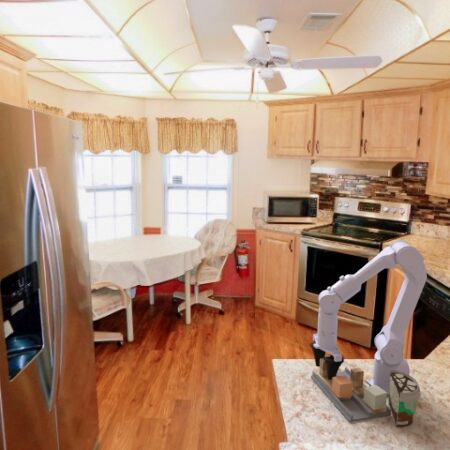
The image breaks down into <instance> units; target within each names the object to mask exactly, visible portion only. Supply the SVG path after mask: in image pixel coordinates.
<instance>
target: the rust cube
mask: <svg viewBox="0 0 450 450" xmlns="http://www.w3.org/2000/svg"><path fill="white" fill-rule="evenodd" d="M352 390H353V383H352V382H351V381H350V380H349V379H348V378H347V377H346V376H337V377H333V379H332V391H333V392H334V393H335V394H336V395H337V396H338V397H339V398H344V397H351V396H352Z"/></svg>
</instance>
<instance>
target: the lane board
mask: <svg viewBox="0 0 450 450" xmlns="http://www.w3.org/2000/svg"><path fill="white" fill-rule="evenodd" d="M311 372H312V373H311V374H312V375H310V379H312V380H313V382H314V383H315V384H316V385H317V387H318V388H319V389H320V390H321V391H322V392H323V394H324V395H325V396H326V398H327V399H328V400H329V401H330V402H331V403H332V404H333V406H335V408H336V409H337V411H338V412H339V413H340V414H341V415H342V416H343V417H344V419H345V420H346V421H347V422H348V423H355V422H360V421H367V420H373V419H380V418H387V417H390V416H392V414H391V409H390V408H389V405H388V404H386V408H387V412H385V413H378V414H373V411H372V410H371V409H370V408H369V407H368V406H367V405H366V404H365V403H364V402H363V401H362V399H364V397H361V398H359V397H358V396H357V395H356V394H355V393H354V392H353V391H352V396H351V399H346V400H339V399H338V398H337V397H336V396H335V395H334V393H333V392H332V391H331V390H330V389H329V388H328V387H327V385H326V384H325V383H324V382H323V381H322V380H321V379H320V378H319V376H318V375H317V374H318V373H316V372H315V371H311ZM350 374H351V369H349V368H348V367H346V366H345V368H344V371H338V372H337V375H336V377H337V376H346V377H347V378H348V379H349V380H350ZM363 386H364V387H365V388H366V387H368V386H367V385H366V384H365V383H364V382H363Z"/></svg>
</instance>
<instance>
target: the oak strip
mask: <svg viewBox="0 0 450 450" xmlns="http://www.w3.org/2000/svg"><path fill="white" fill-rule="evenodd" d="M318 371H319V373H316V374H317V375H318V376H319V378H320V379H321V380H322V381H323V382H324V383H325V384H326V385H327V387H328V388H329V389H330V390H331V391H332V380H329V379H328V377H327V367H326V363H325V360H324V358H321V359H320V367H319V369H318ZM332 392H333V391H332ZM333 393H334V392H333ZM334 395H335V396H336V397H337V398H338V399H339V400H346V399H351V397H344V398H339V397H338V396H337V395H336V394H335V393H334Z"/></svg>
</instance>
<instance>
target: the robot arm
mask: <svg viewBox="0 0 450 450" xmlns="http://www.w3.org/2000/svg"><path fill="white" fill-rule="evenodd" d="M424 261H425V258H424V257H423V255H422V254H421V252H420V251H419V249H417V248H416V247H414V246H412V245H411V244H410V243H409V242H408V241H406V240H402V239H401V240H400V239H398V240H395V241H393V242H392V243H391V244H390V245H389V246H386V247H384V249H383V250H381V251H380V252H378V254H377V255H376V256H375V257H373V258H372V259H371V260H370V261H369V262H367V263H366V264H365V265H364V266H363V267H362V268H360V269H359V270H357V272H355V273H354V274H346V275H345V276H344V275H341V276H340V277H339V280H338V281H336V283H334V284H333V285H331V286H327V288H326V289H325V290H322V291H321V292H320V293H319V295H318V296H317V300H318V301H317V302H318V304H319V307H318V315H317V332H316V333H314V334H312V341H313V342H311V343H309V346H310V348H311V350H312V354H313V357H314V358H313V359H314V363H315V366H316V367H317V368H318V367H319V368H320V359H321V358H324V360H325V363H326V367H327V377H328V379H329V380H332V379H333V377H336V375H337V372H339V369H340V367H341V366H342V365H343V363H345V359H344V357H343V354H342V353H341V351H340V349H339V346H338V343H337V340H338V322H339V319H338V318H339V317H338V312H339V310H340V309H341V304H344V303H345V302H347V301H348V300H350V299H351V298H352V297H353V296H355V295H356V294H357V293H359V292H361V289H362V284H364V283H365V282H367V281H368V280H369V279H371V278H373V277H374V276H375V275H377V274H379V273H380V272H381V271H383V270H384V269H393V270H394V269H398V266H399V267H400V269H401V270H402V273H403V275H405V276H404V280H403V282H402V285H401V287H400V290H399V292H398V294H397V297H396V299H395V303H394V305H393V307H392V311H391V313H390V315H389V317H388V320H387V323H386V325H384V326H383V327H382V328H381V331H380V332H379V333H377V335H376V336H375V338H374V345H375V347H376V348H377V351H376V352H375V354H374V361H373V375H372V376H373V377H372V378H371V379H366V383H367V384H368V385H369V386H373V385H377V386H378V387H380V388H381V389H383V390H384V391H385V392H387V396H389V382H390V376H389V373H390V370H396V371H400V372H403V373H405V374H408V375H409V376H410V373H411V372H410V366H409V363H408V361H407V360H406V359H405V358H404V348H405V345H406V341H405V340H406V339H405V338H406V337H405V333H406V331H407V329H408V326H409V324H410V321H411V319H412V317H413V314H414V311H415V310H416V307H417V304H418V301H419V299H420V297H421V294H422V292H423V289H424V286H425V285H426V282H427V278H428V276H427V270H426V267H425V262H424ZM397 265H398V266H397ZM326 354H329V356H326Z"/></svg>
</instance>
